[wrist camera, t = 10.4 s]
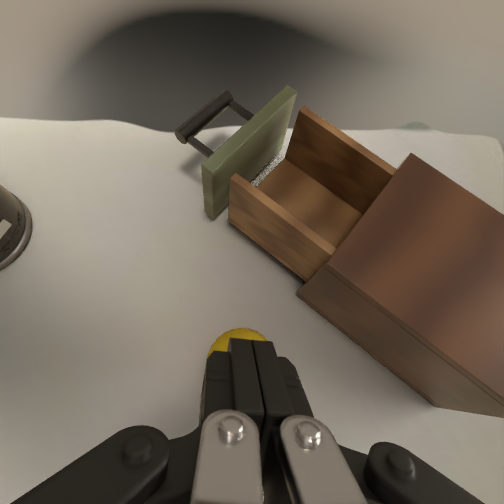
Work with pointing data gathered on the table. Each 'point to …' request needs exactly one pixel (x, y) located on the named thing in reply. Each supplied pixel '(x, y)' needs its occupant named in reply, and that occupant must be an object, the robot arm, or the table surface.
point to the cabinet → (423, 289)
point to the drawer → (287, 179)
